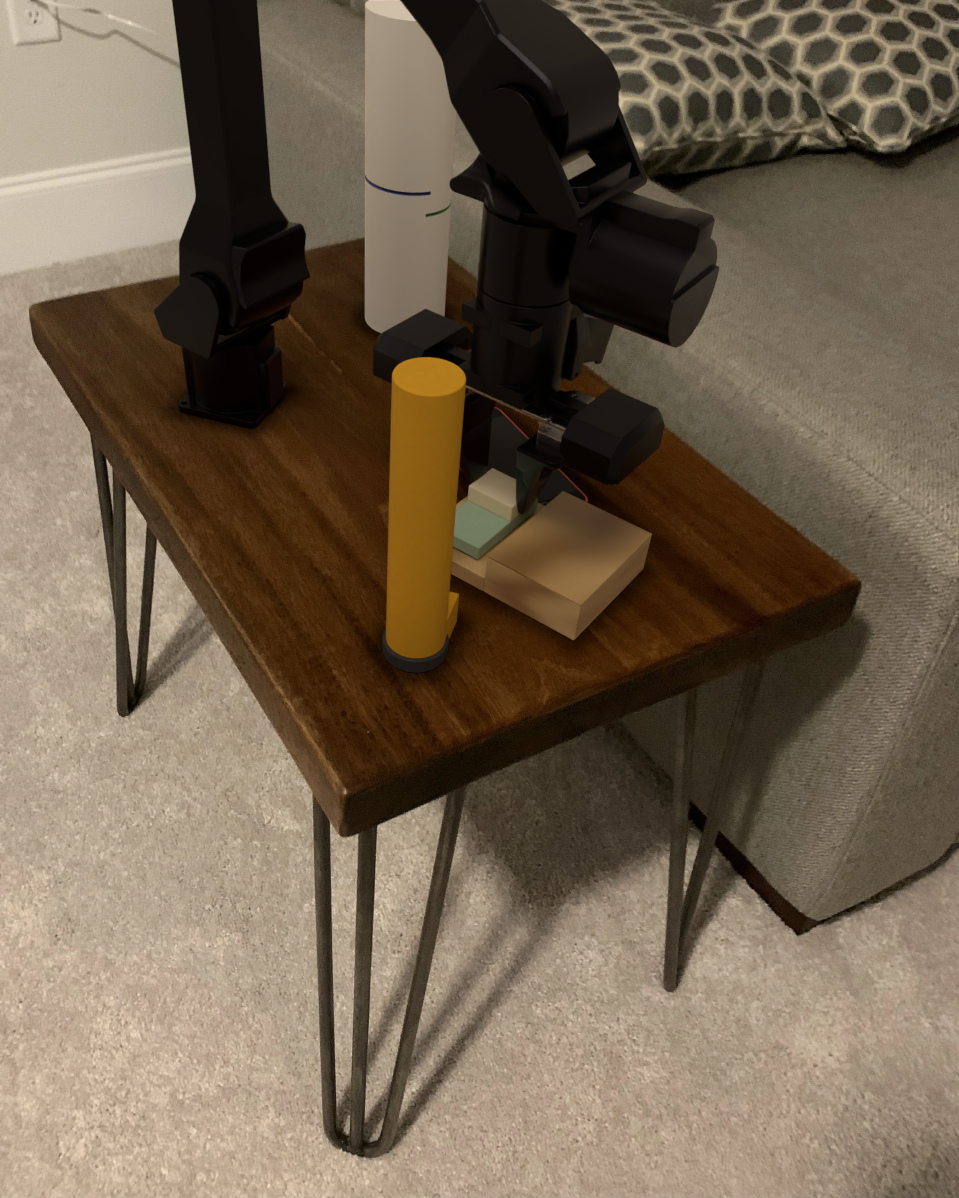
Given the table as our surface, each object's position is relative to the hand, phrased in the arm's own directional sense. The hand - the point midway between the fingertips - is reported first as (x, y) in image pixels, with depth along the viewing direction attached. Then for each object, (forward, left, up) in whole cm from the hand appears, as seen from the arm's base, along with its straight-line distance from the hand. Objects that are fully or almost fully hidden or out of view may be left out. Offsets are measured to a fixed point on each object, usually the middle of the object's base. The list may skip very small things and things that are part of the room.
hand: (500, 499), depth 71 cm
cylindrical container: (-16, +26, -3) cm, 30 cm away
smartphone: (-2, +8, -3) cm, 8 cm away
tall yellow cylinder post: (-2, -13, -2) cm, 13 cm away
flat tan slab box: (+3, -3, -2) cm, 5 cm away
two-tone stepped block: (0, -1, -1) cm, 2 cm away
